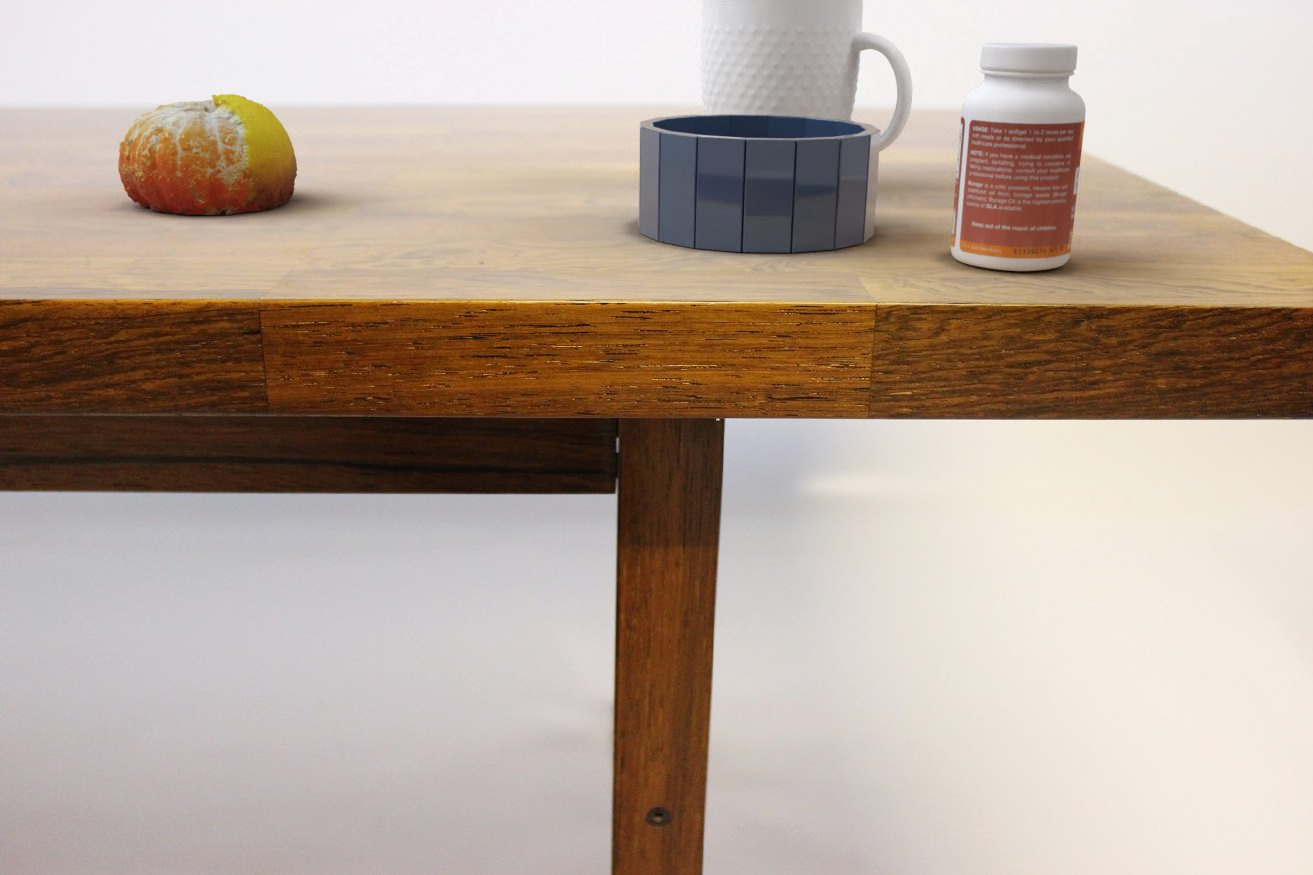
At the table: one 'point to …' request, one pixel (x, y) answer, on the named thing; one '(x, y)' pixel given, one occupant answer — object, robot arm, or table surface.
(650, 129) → the pot
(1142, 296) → the table surface
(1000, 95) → the pill bottle
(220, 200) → the fruit
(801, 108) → the mug
